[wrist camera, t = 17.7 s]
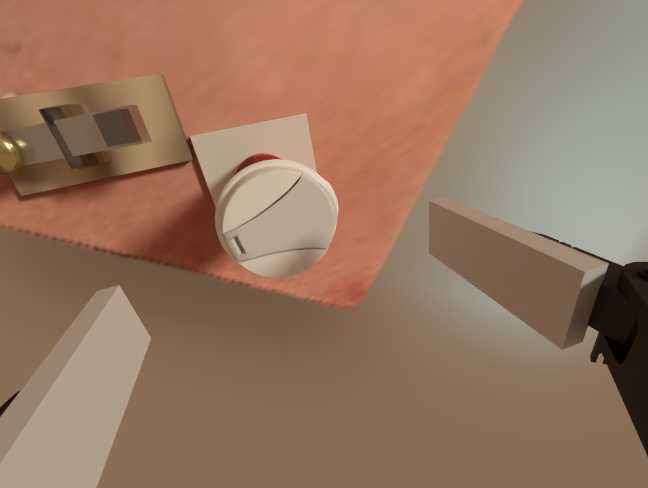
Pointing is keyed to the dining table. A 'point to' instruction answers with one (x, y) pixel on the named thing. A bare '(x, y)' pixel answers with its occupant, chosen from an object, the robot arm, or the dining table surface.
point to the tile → (251, 148)
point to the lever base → (101, 101)
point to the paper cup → (276, 216)
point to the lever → (71, 137)
